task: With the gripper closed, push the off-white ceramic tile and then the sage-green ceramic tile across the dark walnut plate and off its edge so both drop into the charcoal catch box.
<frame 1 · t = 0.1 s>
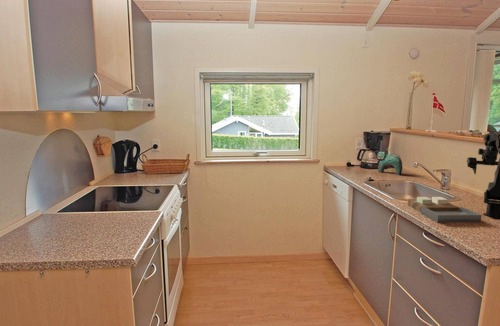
hand: (484, 174, 176), 15 cm above the worktop, tool tilted 35°, fingers open, 9 cm apart
sage tile: (424, 202, 162), point 3 cm above the worktop, touching walnut plate
white tile: (439, 202, 162), point 3 cm above the worktop, touching walnut plate
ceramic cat: (388, 173, 255), on the worktop
catch box: (449, 217, 148), on the worktop
walnut plate: (432, 208, 162), on the worktop
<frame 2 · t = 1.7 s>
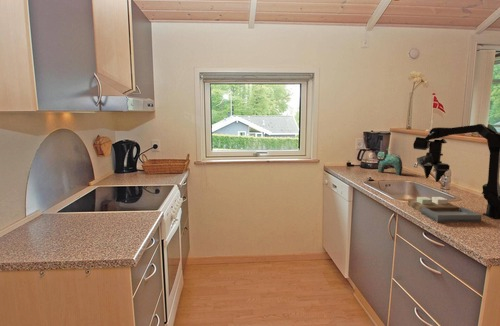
hand: (431, 179, 170), 13 cm above the worktop, tool pointing down, fingers open, 9 cm apart
nothing on the worktop moved.
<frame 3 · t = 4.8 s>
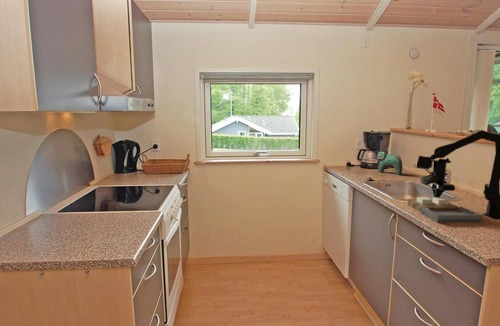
hand: (436, 199, 165), 4 cm above the worktop, tool pointing down, fingers closed
white tile: (440, 203, 162), point 3 cm above the worktop, touching gripper
everything else where it was.
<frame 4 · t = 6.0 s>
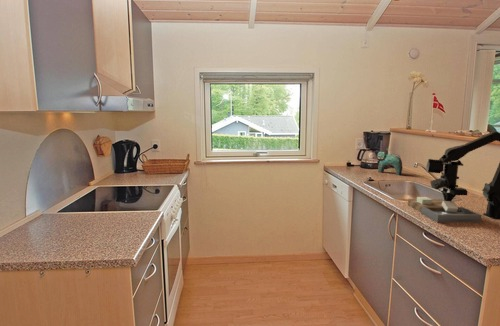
hand: (446, 204, 157), 4 cm above the worktop, tool pointing down, fingers closed
white tile: (448, 208, 154), point 3 cm above the worktop, tilted 28°, touching gripper
everything else where it was.
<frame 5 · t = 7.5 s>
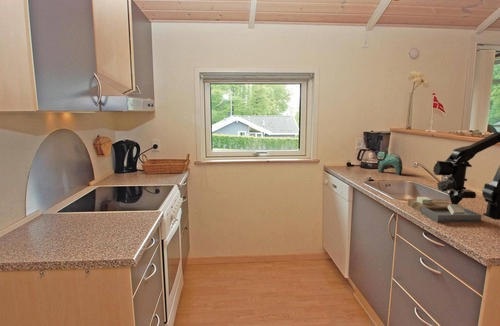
hand: (453, 207, 151), 4 cm above the worktop, tool pointing down, fingers closed
white tile: (455, 211, 149), point 3 cm above the worktop, tilted 28°, touching catch box, gripper
everything else where it was.
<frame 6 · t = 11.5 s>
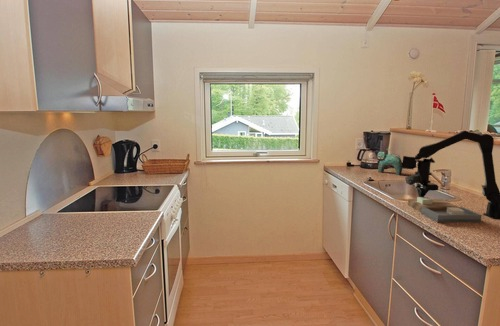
hand: (420, 199, 165), 4 cm above the worktop, tool pointing down, fingers closed
sage tile: (424, 202, 162), point 3 cm above the worktop, touching gripper, walnut plate
white tile: (454, 213, 149), point 1 cm above the worktop, touching catch box
everything else where it was.
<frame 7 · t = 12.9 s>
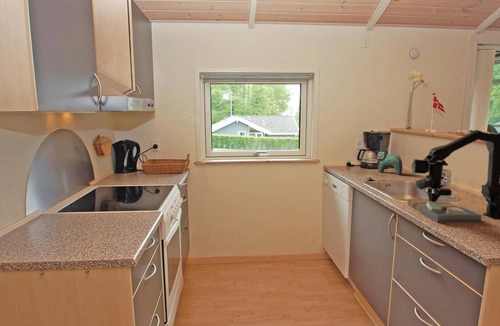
hand: (431, 204, 156), 4 cm above the worktop, tool pointing down, fingers closed
sage tile: (433, 208, 153), point 3 cm above the worktop, tilted 27°, touching catch box, gripper
everything else where it was.
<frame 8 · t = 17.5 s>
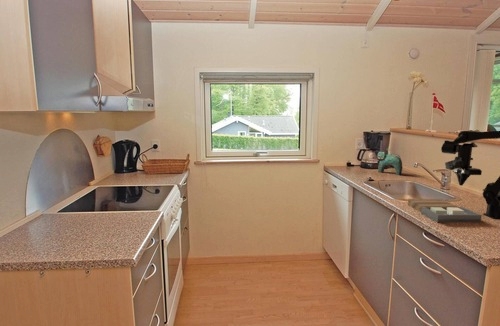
hand: (460, 185, 162), 12 cm above the worktop, tool pointing down, fingers closed
sage tile: (438, 213, 149), point 1 cm above the worktop, touching catch box
everything else where it was.
at the end: white tile inside the target area (3.7 cm from its centre), point 1.5 cm above the worktop; sage tile inside the target area (5.2 cm from its centre), point 1.5 cm above the worktop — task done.
